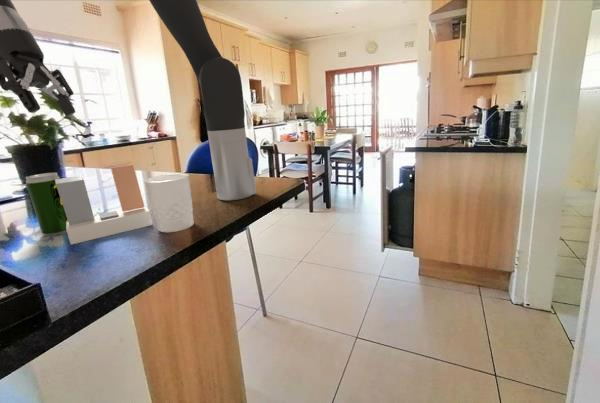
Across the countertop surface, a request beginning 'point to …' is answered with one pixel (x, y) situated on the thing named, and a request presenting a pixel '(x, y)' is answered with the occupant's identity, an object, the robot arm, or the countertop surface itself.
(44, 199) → the green coffee cup
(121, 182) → the brown rectangular block
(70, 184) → the grey rectangular block
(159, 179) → the white cup
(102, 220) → the switch strip
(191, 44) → the robot arm
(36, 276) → the countertop surface
